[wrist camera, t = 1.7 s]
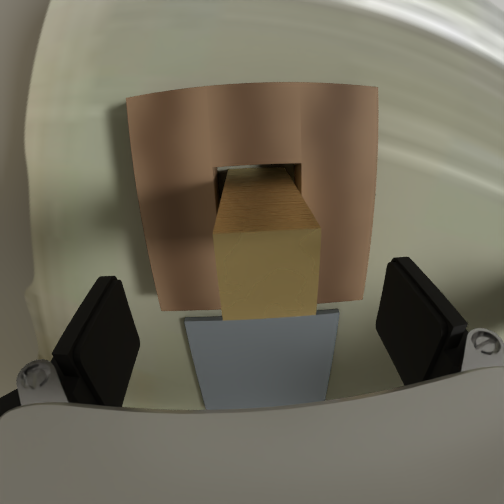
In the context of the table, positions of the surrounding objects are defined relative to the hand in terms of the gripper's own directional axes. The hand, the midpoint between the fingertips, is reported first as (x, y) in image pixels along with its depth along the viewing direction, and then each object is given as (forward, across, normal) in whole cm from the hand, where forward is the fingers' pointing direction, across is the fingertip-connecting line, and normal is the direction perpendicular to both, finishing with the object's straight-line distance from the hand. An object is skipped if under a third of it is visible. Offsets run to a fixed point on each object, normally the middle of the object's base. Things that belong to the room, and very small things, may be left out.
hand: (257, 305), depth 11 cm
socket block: (+14, -1, 0) cm, 14 cm away
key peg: (+14, -1, 0) cm, 14 cm away
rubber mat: (+14, -1, +18) cm, 23 cm away
